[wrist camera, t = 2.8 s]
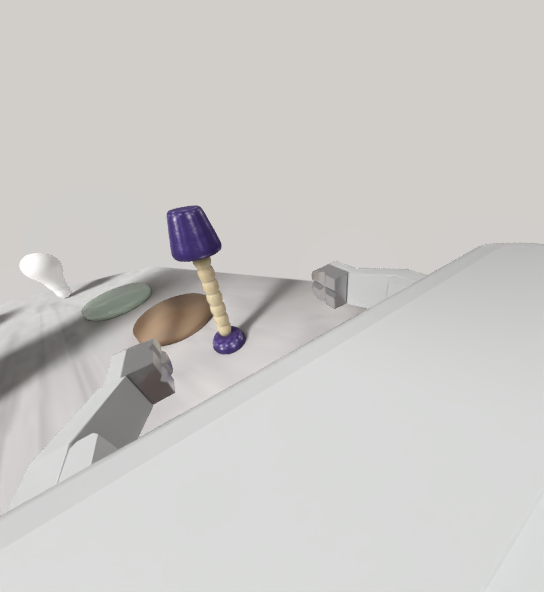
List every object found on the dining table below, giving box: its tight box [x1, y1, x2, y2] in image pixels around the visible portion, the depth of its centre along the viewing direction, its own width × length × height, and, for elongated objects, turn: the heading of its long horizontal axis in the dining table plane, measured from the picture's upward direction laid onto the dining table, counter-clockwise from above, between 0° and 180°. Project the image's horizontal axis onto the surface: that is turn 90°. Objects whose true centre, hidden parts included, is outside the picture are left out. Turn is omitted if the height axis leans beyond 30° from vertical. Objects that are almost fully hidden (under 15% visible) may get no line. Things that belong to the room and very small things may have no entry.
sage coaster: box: [82, 283, 151, 321], centre depth 41 cm, size 12×12×1 cm
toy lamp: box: [167, 206, 245, 354], centre depth 22 cm, size 5×5×17 cm
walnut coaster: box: [133, 293, 212, 346], centre depth 32 cm, size 12×12×1 cm
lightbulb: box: [20, 253, 72, 298], centre depth 45 cm, size 6×6×11 cm
